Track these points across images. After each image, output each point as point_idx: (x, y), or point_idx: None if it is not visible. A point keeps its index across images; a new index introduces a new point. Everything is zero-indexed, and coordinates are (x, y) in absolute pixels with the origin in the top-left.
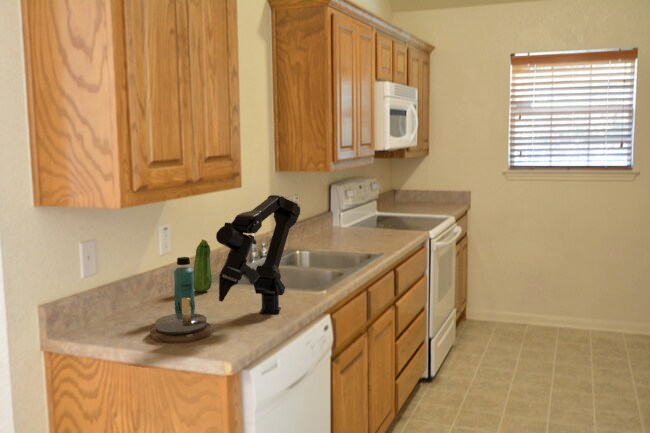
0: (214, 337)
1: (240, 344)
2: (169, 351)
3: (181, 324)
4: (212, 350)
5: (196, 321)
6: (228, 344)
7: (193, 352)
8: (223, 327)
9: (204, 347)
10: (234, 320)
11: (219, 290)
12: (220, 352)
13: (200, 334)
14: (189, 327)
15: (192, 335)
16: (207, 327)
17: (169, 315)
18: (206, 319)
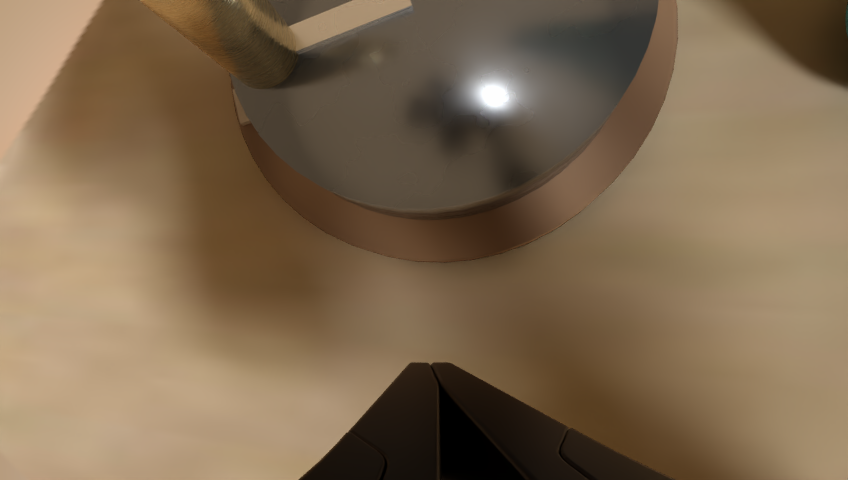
0: (301, 273)
1: (122, 427)
2: (131, 21)
3: (292, 8)
4: (76, 252)
5: (344, 122)
6: (144, 353)
7: (78, 148)
8: (524, 354)
9: (136, 207)
10: (722, 472)
11: (357, 423)
12: (33, 294)
13: (264, 175)
14: (234, 79)
15: (241, 122)
16: (418, 225)
17: None
18: (400, 209)
